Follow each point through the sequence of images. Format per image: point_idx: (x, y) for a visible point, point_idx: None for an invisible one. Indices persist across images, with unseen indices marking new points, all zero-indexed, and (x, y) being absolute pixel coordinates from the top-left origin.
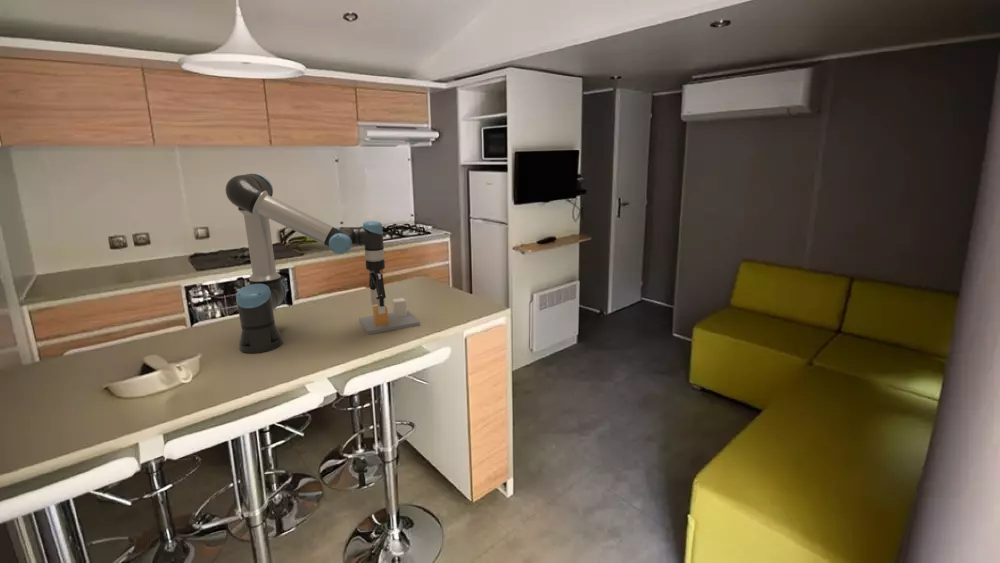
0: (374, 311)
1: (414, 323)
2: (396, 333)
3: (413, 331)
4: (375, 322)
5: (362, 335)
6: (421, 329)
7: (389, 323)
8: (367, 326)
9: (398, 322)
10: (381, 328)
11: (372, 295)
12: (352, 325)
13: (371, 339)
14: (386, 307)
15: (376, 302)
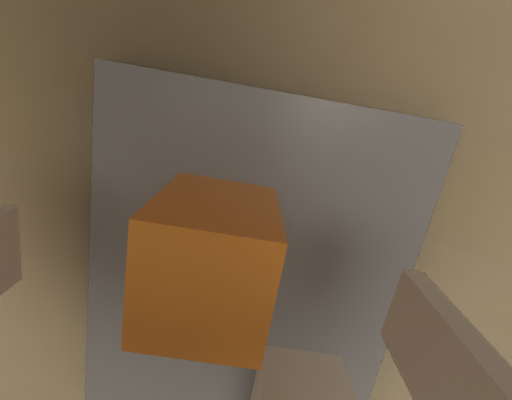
0: (197, 215)
1: (87, 384)
2: (39, 241)
3: (22, 331)
4: (217, 182)
5: (128, 23)
6: (33, 375)
7: None
8: (210, 104)
9: None
10: (98, 178)
11: (473, 386)
12: (407, 41)
13: (4, 50)
14: (144, 352)
15: (393, 335)
